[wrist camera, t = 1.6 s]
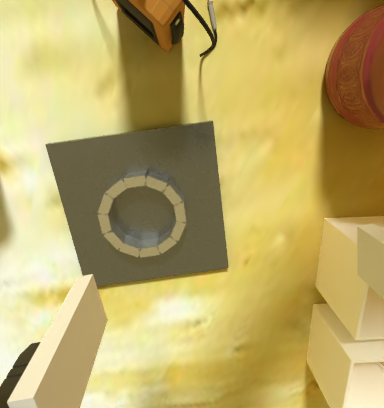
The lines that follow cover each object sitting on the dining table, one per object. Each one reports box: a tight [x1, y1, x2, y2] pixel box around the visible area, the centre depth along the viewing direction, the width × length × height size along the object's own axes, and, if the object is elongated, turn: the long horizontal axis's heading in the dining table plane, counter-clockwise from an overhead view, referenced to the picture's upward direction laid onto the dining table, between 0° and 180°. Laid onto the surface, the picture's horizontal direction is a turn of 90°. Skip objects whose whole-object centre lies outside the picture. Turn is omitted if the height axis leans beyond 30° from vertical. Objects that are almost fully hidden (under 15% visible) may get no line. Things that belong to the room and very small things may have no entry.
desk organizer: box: [306, 216, 384, 408], centre depth 41 cm, size 25×11×11 cm, turn 1°
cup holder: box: [46, 121, 228, 286], centre depth 39 cm, size 20×20×4 cm
